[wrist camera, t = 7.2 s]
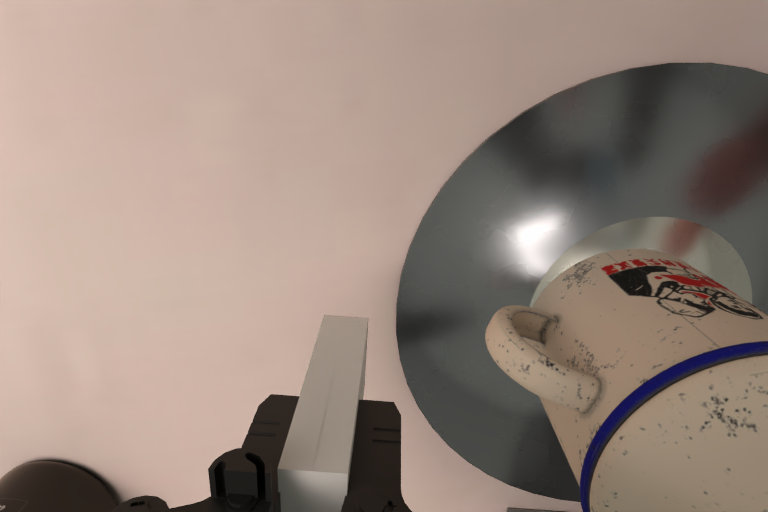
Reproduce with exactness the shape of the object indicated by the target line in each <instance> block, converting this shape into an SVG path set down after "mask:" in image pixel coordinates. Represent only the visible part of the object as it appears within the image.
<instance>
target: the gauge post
mask: <svg viewBox="0 0 768 512" xmlns="http://www.w3.org/2000/svg"><path fill="white" fill-rule="evenodd" d="M507 512H557V511H543V510H529V509H515V508H508V509H507Z"/></svg>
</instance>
